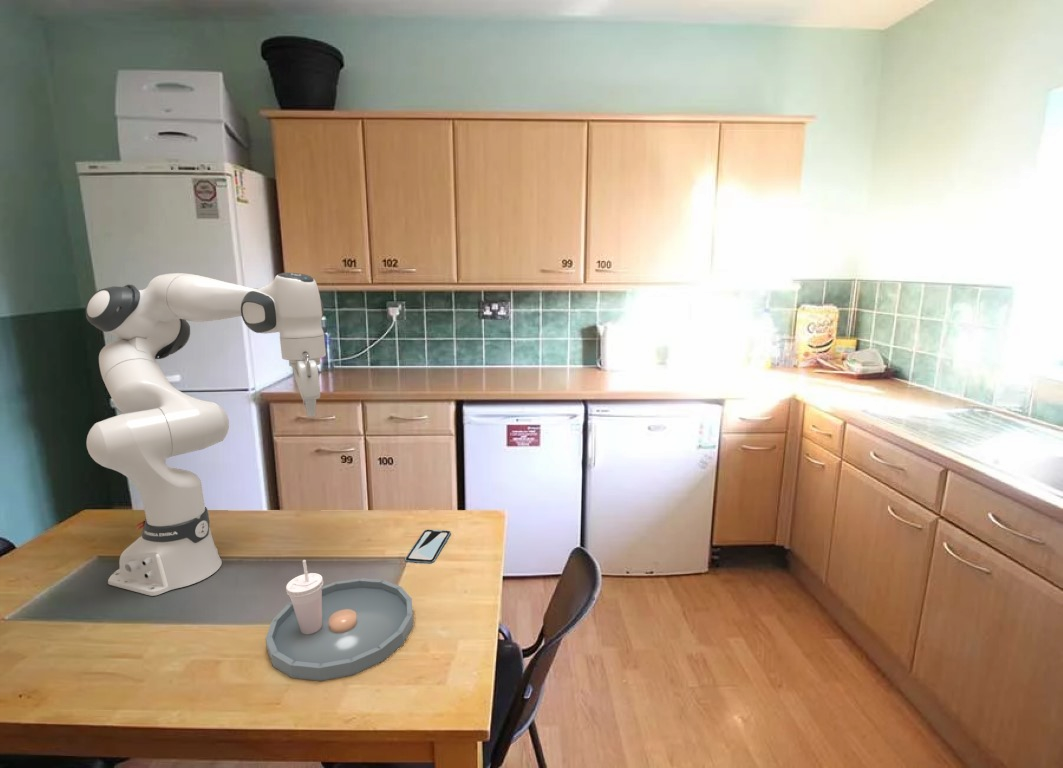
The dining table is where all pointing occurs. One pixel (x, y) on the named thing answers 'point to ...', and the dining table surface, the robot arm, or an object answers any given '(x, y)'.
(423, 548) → the smartphone
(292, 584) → the smoothie
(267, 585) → the dining table surface
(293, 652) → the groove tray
